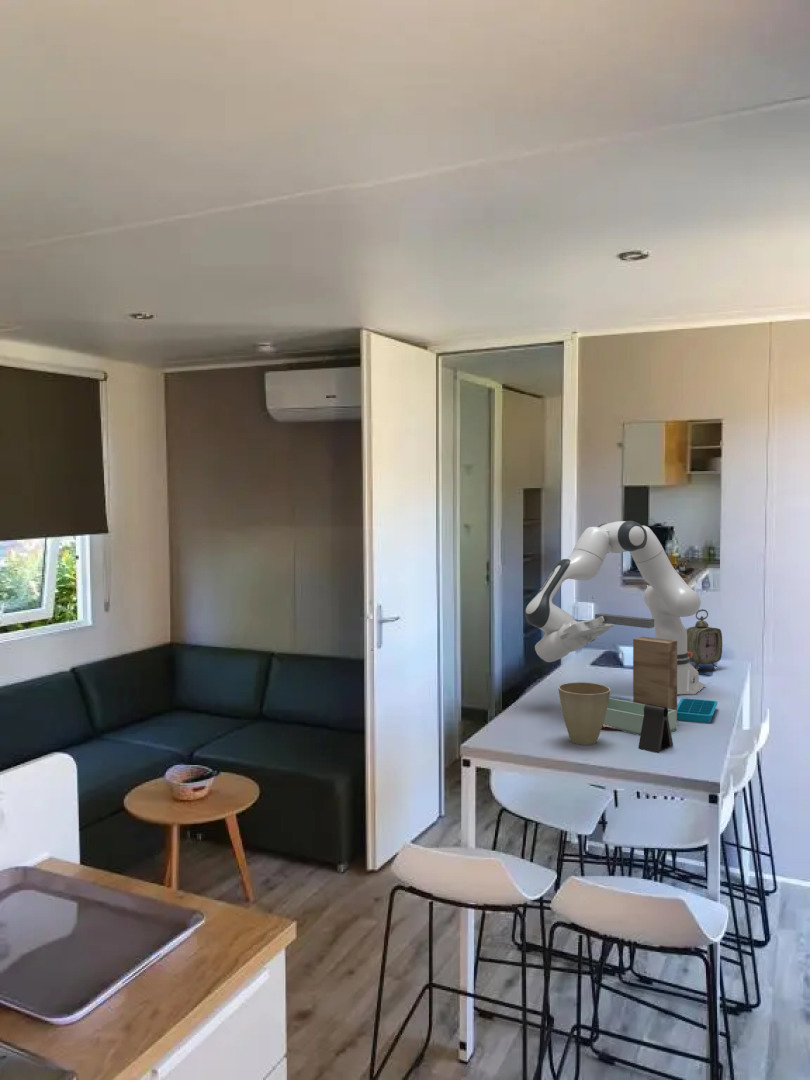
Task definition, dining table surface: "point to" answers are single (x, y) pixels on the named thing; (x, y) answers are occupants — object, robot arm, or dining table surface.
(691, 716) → the ice cube tray
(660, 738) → the phone stand
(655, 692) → the walnut stand
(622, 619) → the gray rectangular bar
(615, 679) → the dining table surface
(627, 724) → the green tray
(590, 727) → the plant pot
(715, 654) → the tabletop clock
